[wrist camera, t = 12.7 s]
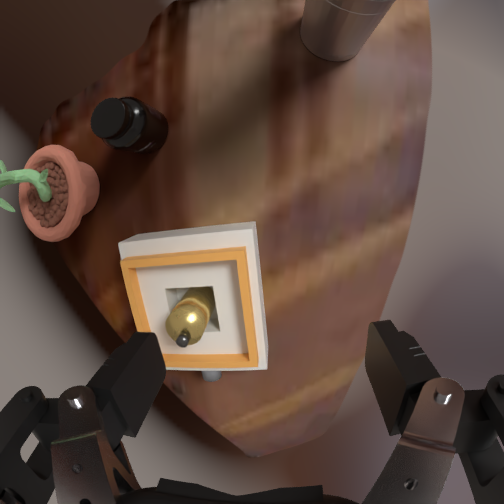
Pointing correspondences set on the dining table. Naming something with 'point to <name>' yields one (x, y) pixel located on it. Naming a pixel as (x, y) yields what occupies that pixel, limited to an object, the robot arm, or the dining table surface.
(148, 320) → the white box with knob
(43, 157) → the decorative flower
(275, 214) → the dining table surface
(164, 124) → the supplement bottle
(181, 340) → the oil can
